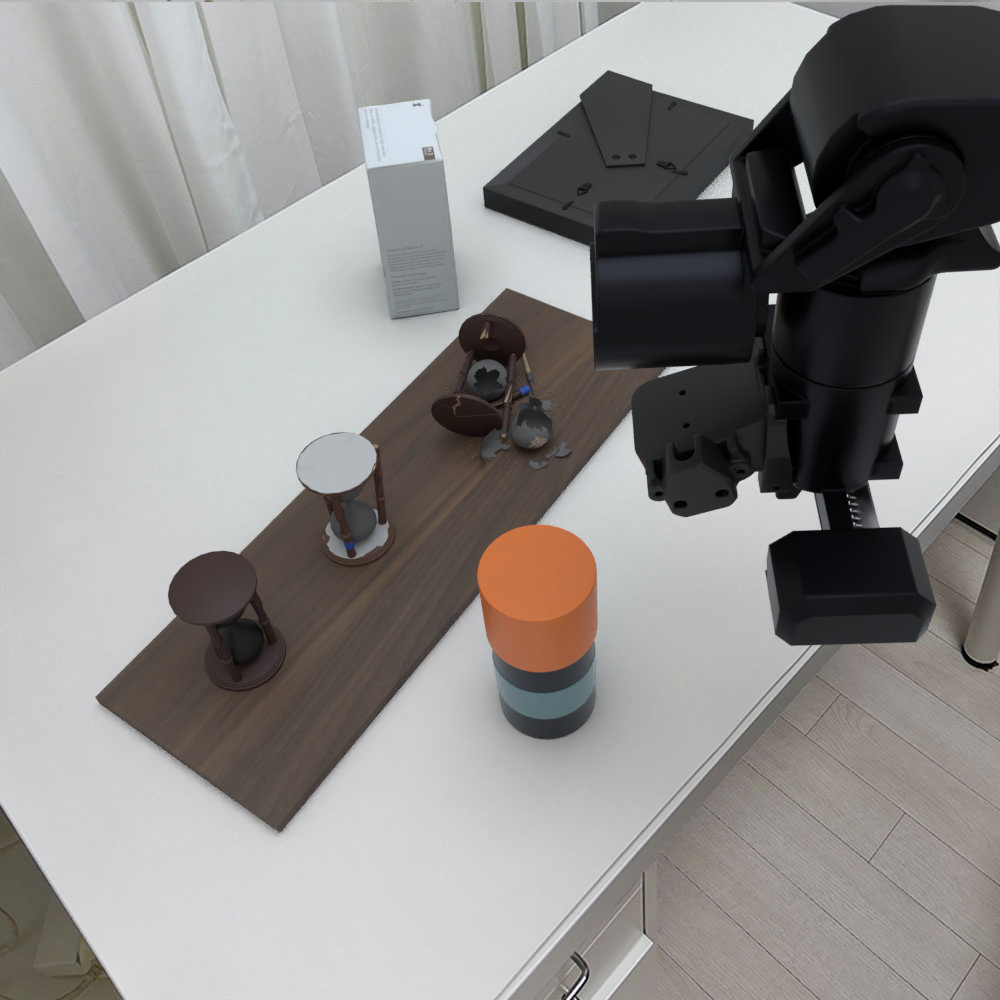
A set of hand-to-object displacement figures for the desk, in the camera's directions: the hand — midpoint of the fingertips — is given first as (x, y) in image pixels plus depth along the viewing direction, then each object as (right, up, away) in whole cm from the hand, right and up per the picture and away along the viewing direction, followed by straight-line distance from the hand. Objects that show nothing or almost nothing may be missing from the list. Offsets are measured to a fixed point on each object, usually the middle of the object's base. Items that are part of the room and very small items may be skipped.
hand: (798, 565), depth 57 cm
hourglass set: (-21, +2, +20) cm, 30 cm away
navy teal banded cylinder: (-12, -9, +10) cm, 18 cm away
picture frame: (-4, +33, +44) cm, 55 cm away
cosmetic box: (-22, +21, +36) cm, 47 cm away
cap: (-13, -3, +4) cm, 14 cm away
